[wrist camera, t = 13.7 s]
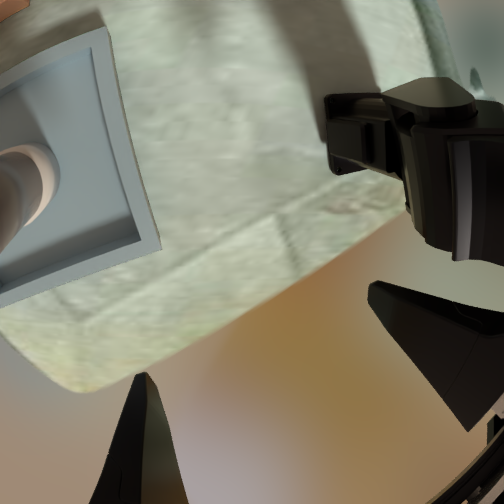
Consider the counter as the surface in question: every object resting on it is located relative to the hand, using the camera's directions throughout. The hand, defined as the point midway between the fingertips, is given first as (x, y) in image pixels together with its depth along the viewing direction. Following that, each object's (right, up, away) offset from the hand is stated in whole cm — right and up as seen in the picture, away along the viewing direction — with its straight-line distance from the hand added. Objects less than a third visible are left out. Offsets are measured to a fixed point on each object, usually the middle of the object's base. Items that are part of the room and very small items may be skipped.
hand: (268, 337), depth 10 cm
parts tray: (-15, +8, +4) cm, 17 cm away
